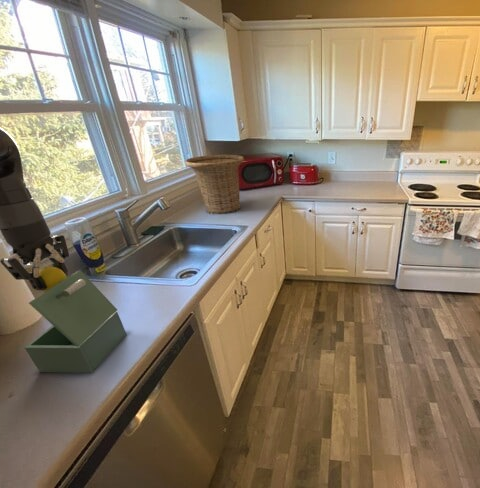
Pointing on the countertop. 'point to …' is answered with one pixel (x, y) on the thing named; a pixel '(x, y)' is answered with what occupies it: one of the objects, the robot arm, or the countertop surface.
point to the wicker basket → (218, 181)
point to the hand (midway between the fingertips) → (52, 282)
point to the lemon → (51, 276)
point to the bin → (75, 348)
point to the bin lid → (74, 307)
